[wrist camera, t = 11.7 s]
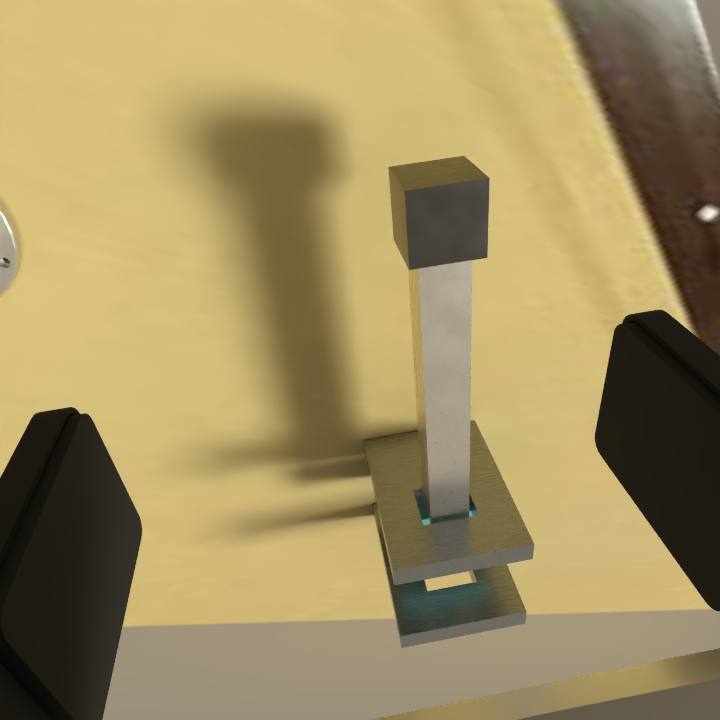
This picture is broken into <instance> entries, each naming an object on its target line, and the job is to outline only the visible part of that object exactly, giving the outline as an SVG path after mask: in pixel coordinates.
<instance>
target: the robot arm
mask: <svg viewBox="0 0 720 720" xmlns="http://www.w3.org/2000/svg"><path fill="white" fill-rule="evenodd" d="M20 253H21V250H20V243H19V237H18V234H17V231H16V228H15V225H14V223H13V220H12V219H11V217H10V215H9V213H8V212H7V210H6V208H5V207H4V205H3V204H2V203H1V201H0V296H1V295H2V294H3V293H4V292H5V291H6V290H7V289H8V287H9V286H10V284H11V283H12V281H13V280H14V278H15V277H16V274H17V271H18V268H19V265H20ZM6 258H7V259H8V260H9V261H8V260H7V259H6ZM595 443H596V447H597V449H598V452H599V453H600V455H601V456H602V458H603V459H604V461H605V462H606V463H607V465H608V466H609V468H610V469H611V470H612V472H613V473H614V475H615V476H616V477H617V479H618V480H619V482H620V483H621V484H622V486H623V487H624V489H625V490H626V491H627V493H628V494H629V496H630V497H631V498H632V500H633V501H634V503H635V504H636V505H637V507H638V508H639V509H640V511H641V512H642V514H643V515H644V516H645V518H646V519H647V521H648V522H649V523H650V525H651V526H652V528H653V529H654V530H655V532H656V533H657V535H658V536H659V537H660V539H661V540H662V542H663V543H664V544H665V546H666V547H667V549H668V550H669V551H670V553H671V554H672V556H673V557H674V558H675V560H676V561H677V563H678V564H679V565H680V567H681V568H682V570H683V571H684V572H685V574H686V575H687V577H688V578H689V579H690V581H691V582H692V584H693V585H694V586H695V588H696V589H697V590H698V592H699V593H700V595H701V596H702V597H703V599H704V600H705V602H706V603H707V604H708V605H709V606H710V607H711V608H712V609H714V610H716V611H720V356H719V355H718V354H717V353H716V352H715V351H713V350H712V349H711V348H710V347H708V346H707V345H706V344H705V343H704V342H702V341H701V340H700V339H699V338H697V337H696V336H695V335H694V334H692V333H691V332H690V331H689V330H688V329H686V328H685V327H684V326H683V325H681V324H680V323H679V322H678V321H677V320H675V319H674V318H673V317H672V316H670V315H669V314H668V313H667V312H665V311H663V310H654V311H648V312H642V313H636V314H630V315H628V316H626V317H625V319H624V320H623V323H622V324H619V325H617V327H616V328H615V331H614V335H613V340H612V346H611V351H610V357H609V362H608V367H607V373H606V378H605V383H604V389H603V394H602V400H601V405H600V410H599V416H598V421H597V427H596V432H595ZM141 536H142V526H141V520H140V517H139V515H138V513H137V510H136V508H135V506H134V504H133V502H132V500H131V498H130V496H129V494H128V492H127V490H126V488H125V486H124V484H123V482H122V480H121V478H120V476H119V474H118V472H117V469H116V467H115V465H114V463H113V461H112V459H111V457H110V455H109V453H108V451H107V449H106V447H105V445H104V443H103V441H102V439H101V437H100V435H99V433H98V431H97V428H96V426H95V424H94V422H93V420H92V419H91V417H90V416H89V415H88V414H85V413H84V414H80V413H79V412H78V411H77V410H76V409H75V408H72V407H69V408H63V409H57V410H51V411H45V412H39V413H36V414H35V415H34V416H33V417H32V419H31V420H30V422H29V424H28V426H27V428H26V430H25V432H24V434H23V436H22V438H21V440H20V441H19V443H18V445H17V447H16V449H15V451H14V453H13V455H12V457H11V459H10V461H9V462H8V464H7V466H6V468H5V470H4V472H3V474H2V476H1V478H0V720H102V718H103V714H104V709H105V704H106V700H107V695H108V690H109V686H110V681H111V676H112V672H113V667H114V663H115V658H116V653H117V648H118V644H119V639H120V635H121V630H122V625H123V621H124V616H125V611H126V607H127V602H128V597H129V593H130V588H131V584H132V579H133V574H134V570H135V565H136V560H137V556H138V551H139V546H140V542H141ZM372 720H720V648H719V649H714V650H709V651H704V652H700V653H695V654H690V655H685V656H680V657H675V658H670V659H665V660H660V661H655V662H650V663H645V664H640V665H635V666H631V667H625V668H621V669H616V670H611V671H605V672H600V673H595V674H591V675H585V676H580V677H576V678H571V679H566V680H561V681H556V682H551V683H546V684H541V685H537V686H532V687H527V688H522V689H517V690H512V691H508V692H503V693H498V694H493V695H488V696H483V697H479V698H474V699H469V700H464V701H459V702H454V703H450V704H445V705H440V706H435V707H430V708H426V709H421V710H416V711H411V712H407V713H401V714H397V715H392V716H387V717H382V718H377V719H372Z"/></svg>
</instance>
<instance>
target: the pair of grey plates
mask: <svg viewBox="0 0 720 720" xmlns="http://www.w3.org/2000/svg"><path fill="white" fill-rule="evenodd" d="M364 444H365V451H366V457H367V461H368V466H369V471H370V475H371V480H372V484H373V489H374V494H375V498H376V503H375V504H373V510H374V517H375V522H376V527H377V531H378V536H379V541H380V546H381V551H382V555H383V560H384V565H385V570H386V575H387V580H388V584H389V589H390V594H391V599H392V604H393V608H394V613H395V618H396V623H397V628H398V632H399V637H400V642H401V647H402V648H404V647H408V646H414V645H419V644H424V643H429V642H434V641H438V640H444V639H449V638H454V637H459V636H464V635H469V634H474V633H479V632H484V631H489V630H494V629H499V628H504V627H509V626H514V625H519V624H524V623H525V619H526V609H525V607H524V605H523V602H522V600H521V597H520V595H519V593H518V590H517V588H516V585H515V583H514V581H513V578H512V576H511V573H510V571H509V569H508V566H507V564H508V563H513V562H519V561H524V560H529V559H533V550H534V543H533V541H532V538H531V536H530V534H529V532H528V530H527V528H526V526H525V524H524V522H523V520H522V518H521V516H520V514H519V511H518V509H517V507H516V505H515V503H514V501H513V499H512V497H511V495H510V493H509V491H508V489H507V487H506V484H505V482H504V480H503V478H502V476H501V474H500V472H499V470H498V468H497V466H496V464H495V462H494V459H493V457H492V455H491V453H490V451H489V449H488V447H487V445H486V443H485V441H484V439H483V437H482V435H481V432H480V430H479V428H478V426H477V424H476V422H475V421H470V482H469V507H470V510H471V513H472V515H473V516H471V517H466V518H461V519H455V520H450V521H445V522H439V523H434V524H428V525H423V522H422V519H421V516H420V512H419V509H418V505H417V504H420V503H423V500H422V489H421V473H420V456H419V439H418V431H413V432H408V433H402V434H396V435H391V436H385V437H379V438H374V439H368V440H364ZM467 571H469V573H470V576H471V579H472V582H473V583H469V584H464V585H459V586H454V587H448V588H443V589H438V590H433V591H428V592H427V588H426V585H425V581H424V580H425V579H430V578H435V577H441V576H446V575H451V574H456V573H461V572H467Z"/></svg>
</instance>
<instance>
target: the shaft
mask: <svg viewBox="0 0 720 720" xmlns="http://www.w3.org/2000/svg"><path fill="white" fill-rule="evenodd" d="M389 180H390V194H391V208H392V221H393V235H394V241H395V243H396V245H397V247H398V249H399V251H400V253H401V255H402V257H403V259H404V261H405V263H406V265H407V267H408V272H409V289H410V306H411V322H412V339H413V356H414V373H415V389H416V406H417V423H418V439H419V456H420V473H421V489H422V500H423V503H424V507H425V510H426V513H427V516H428V520H429V523H430V524H434V523H439V522H445V521H450V520H455V519H461V518H466V517H469V482H470V389H471V296H472V260H476V259H482V258H487V247H488V211H489V177H488V176H486V175H485V174H484V173H483V172H482V171H481V170H480V169H478V168H477V167H476V166H475V165H474V164H473V163H472V162H470V161H469V160H468V159H467V158H466V157H465V156H460V157H453V158H446V159H440V160H433V161H426V162H419V163H413V164H406V165H399V166H392V167H389Z"/></svg>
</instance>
